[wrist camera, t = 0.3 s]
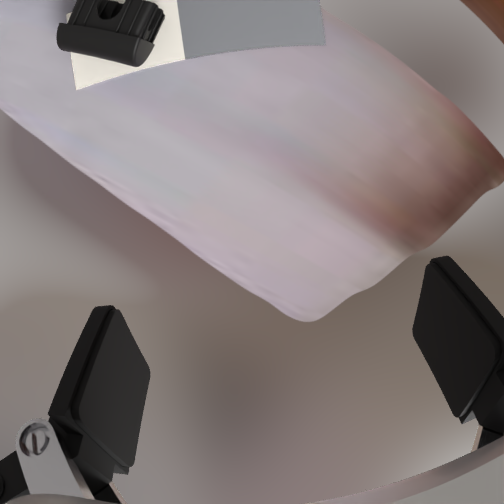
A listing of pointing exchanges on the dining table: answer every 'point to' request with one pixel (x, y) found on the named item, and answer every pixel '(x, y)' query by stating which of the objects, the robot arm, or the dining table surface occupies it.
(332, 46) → the dining table surface
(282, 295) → the dining table surface
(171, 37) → the board
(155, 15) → the end cap
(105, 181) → the dining table surface
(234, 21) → the mat
